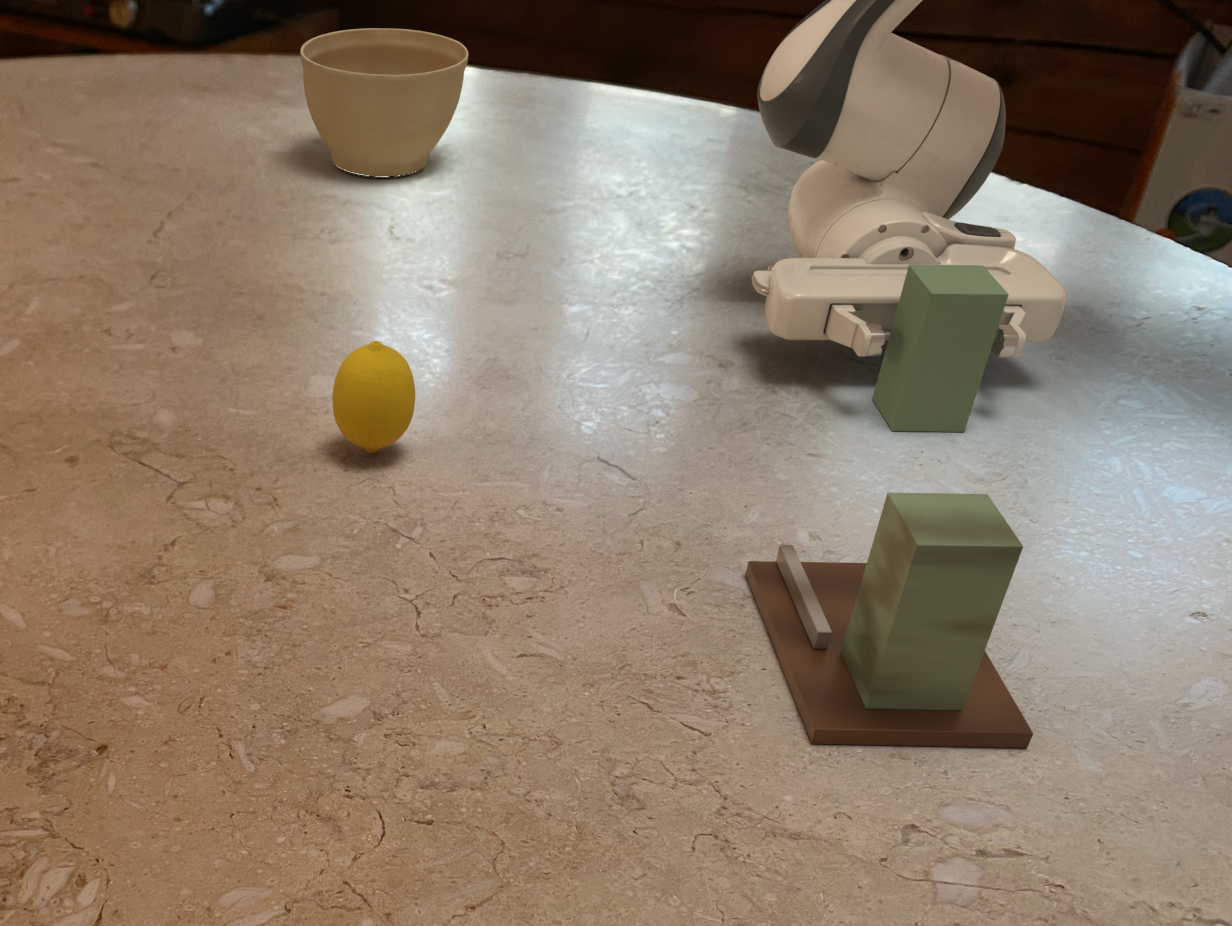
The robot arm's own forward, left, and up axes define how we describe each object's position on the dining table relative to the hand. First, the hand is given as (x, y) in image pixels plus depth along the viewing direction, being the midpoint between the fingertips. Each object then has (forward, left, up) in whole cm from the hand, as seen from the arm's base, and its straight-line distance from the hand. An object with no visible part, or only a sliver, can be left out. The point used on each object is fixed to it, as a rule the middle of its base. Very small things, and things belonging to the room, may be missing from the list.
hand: (942, 347), depth 100 cm
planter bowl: (+65, -6, -6) cm, 66 cm away
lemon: (+20, +34, -6) cm, 40 cm away
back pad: (0, 0, -5) cm, 5 cm away
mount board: (-16, +28, -5) cm, 32 cm away
